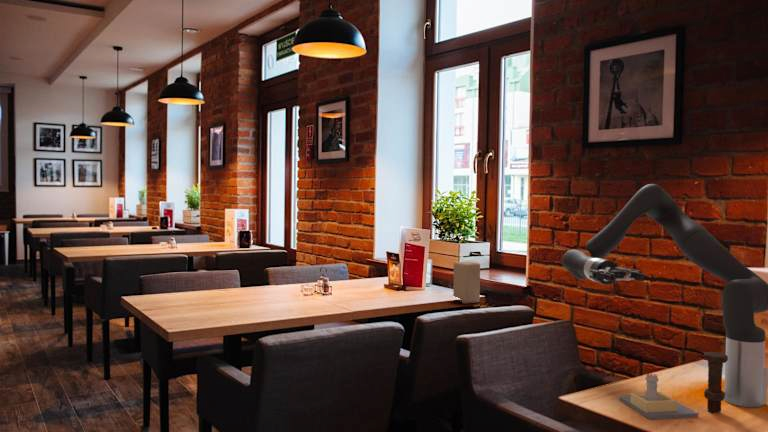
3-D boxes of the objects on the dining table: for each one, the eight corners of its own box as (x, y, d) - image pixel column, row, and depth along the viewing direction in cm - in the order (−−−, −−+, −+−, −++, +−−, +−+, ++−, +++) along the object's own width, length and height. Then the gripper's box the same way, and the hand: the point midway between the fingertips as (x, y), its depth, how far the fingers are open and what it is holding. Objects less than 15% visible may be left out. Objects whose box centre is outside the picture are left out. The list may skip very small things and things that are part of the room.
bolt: (730, 414, 164) (732, 356, 164) (716, 416, 163) (718, 357, 162) (711, 407, 170) (713, 350, 169) (697, 409, 168) (698, 352, 167)
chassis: (663, 398, 177) (663, 385, 177) (698, 417, 162) (698, 403, 162) (619, 400, 175) (619, 387, 175) (649, 419, 160) (650, 405, 160)
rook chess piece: (638, 404, 169) (638, 373, 168) (651, 402, 170) (652, 372, 170) (650, 409, 165) (651, 378, 164) (664, 407, 166) (665, 376, 166)
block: (480, 302, 326) (480, 263, 325) (464, 304, 321) (465, 264, 320) (468, 299, 335) (468, 261, 334) (452, 301, 330) (452, 262, 329)
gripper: (579, 258, 198) (605, 264, 182) (622, 258, 200) (652, 264, 184) (578, 283, 198) (604, 291, 182) (622, 282, 200) (651, 290, 184)
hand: (628, 277), depth 183 cm, fingers open, 8 cm apart
